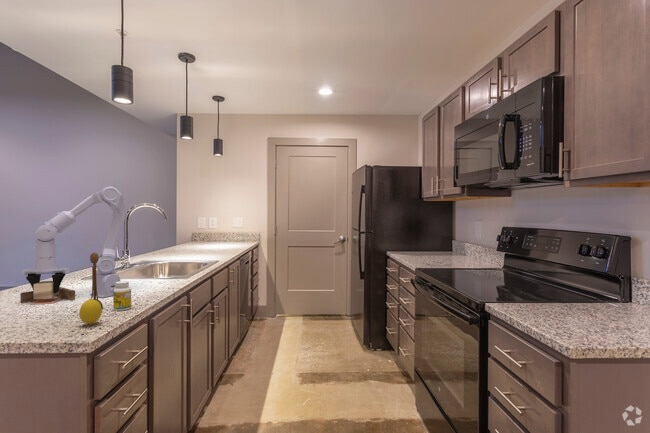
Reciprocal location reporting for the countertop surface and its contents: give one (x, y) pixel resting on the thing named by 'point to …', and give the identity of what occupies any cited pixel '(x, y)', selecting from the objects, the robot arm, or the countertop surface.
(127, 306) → the supplement bottle
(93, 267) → the wooden tabletop sculpture
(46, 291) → the maple cube
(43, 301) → the pad
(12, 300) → the countertop surface
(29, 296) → the brown wooden l-shaped block
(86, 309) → the lemon
